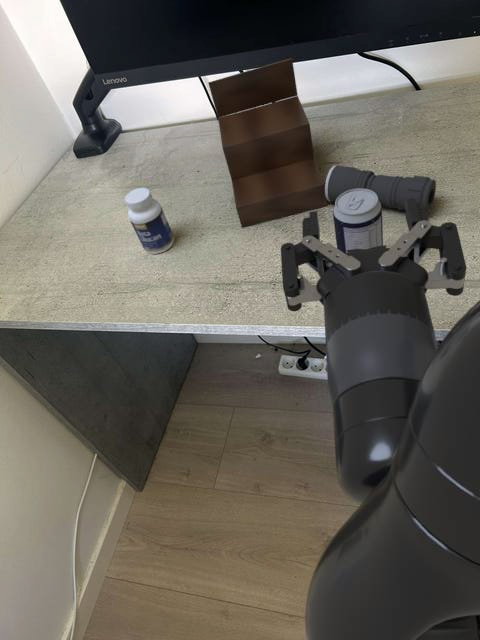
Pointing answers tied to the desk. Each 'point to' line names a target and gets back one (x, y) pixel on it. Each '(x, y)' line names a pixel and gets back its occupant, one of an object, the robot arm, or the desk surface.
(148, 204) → the pill bottle
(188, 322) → the desk surface
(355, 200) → the beverage can
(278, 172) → the wooden stair steps
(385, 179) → the flashlight
